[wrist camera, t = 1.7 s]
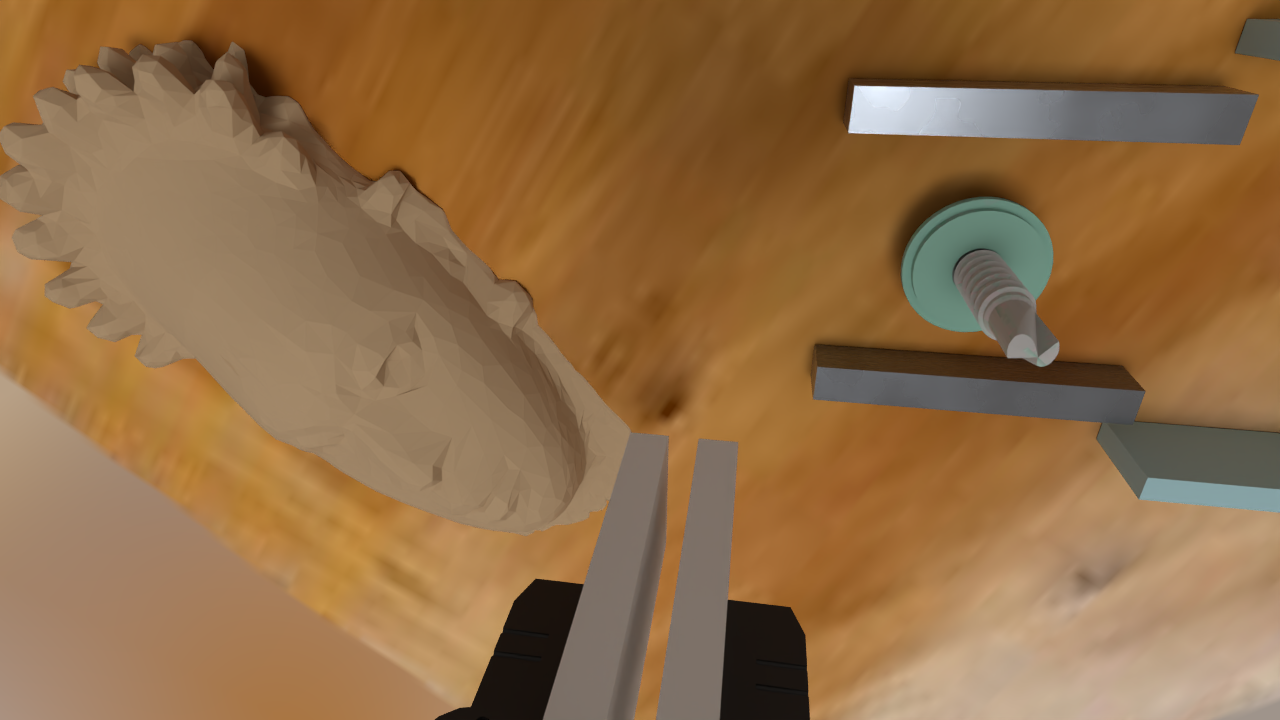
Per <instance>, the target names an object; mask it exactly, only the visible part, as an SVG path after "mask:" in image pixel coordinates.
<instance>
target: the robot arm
mask: <svg viewBox="0 0 1280 720" xmlns="http://www.w3.org/2000/svg"><path fill="white" fill-rule="evenodd" d="M668 440H669V436H663V435H652V434H641V433H630V435H629V438H628V442H627V445H626V448H625V452H624V455H623V458H622V461H621V465H620V468H619V471H618V474H617V478H616V481H615V484H614V488H613V491H612V494H611V497H610V501H609V504H608V507H607V511H606V514H605V517H604V520H603V524H602V527H601V530H600V534H599V537H598V540H597V543H596V547H595V550H594V553H593V557H592V560H591V563H590V566H589V570H588V573H587V576H586V580H585V583H584V584H576V583H568V582H560V581H551V580H543V579H535V580H534V581H533V582H532V583H531V584H530V585H529V586H528V587H527V588H526V589H525V590H524V591H523V592H522V593H521V594H520V596H519V597H518V598H517V599H516V600H515V601H514V603H513V605H512V608H511V610H510V613H509V615H508V618H507V620H506V622H505V625H504V627H503V633H501V635H500V637H499V640H498V642H497V644H496V647H495V649H494V655H493V656H492V657H491V659H490V662H489V664H488V667H487V669H486V671H485V674H484V676H483V679H482V681H481V684H480V686H479V689H478V691H477V693H476V696H475V698H474V701H473V703H472V706H471V707H466V708H458V709H456V710H453V711H451V712H448V713H446V714H444V715H441V716H439V717H438V718H436V719H435V720H634V716H635V710H636V705H637V699H638V694H639V688H640V683H641V677H642V672H643V666H644V661H645V656H646V650H647V645H648V639H649V634H650V628H651V623H652V617H653V612H654V606H655V601H656V595H657V590H658V584H659V579H660V573H661V568H662V562H663V557H664V551H665V546H666V524H667V482H668ZM737 453H738V442H730V441H719V440H708V439H699V441H698V448H697V454H696V461H695V467H694V474H693V481H692V487H691V494H690V500H689V507H688V513H687V520H686V526H685V533H684V540H683V546H682V553H681V559H680V566H679V572H678V579H677V585H676V592H675V598H674V605H673V612H672V618H671V625H670V631H669V638H668V644H667V651H666V657H665V664H664V671H663V677H662V684H661V690H660V697H659V703H658V710H657V716H656V720H810V713H809V697H808V676H807V657H806V639H805V634H804V632H803V630H802V628H801V626H800V624H799V622H798V620H797V619H796V617H795V615H794V613H793V611H792V609H791V607H784V606H776V605H767V604H759V603H751V602H742V601H734V600H728V587H729V572H730V557H731V542H732V527H733V513H734V498H735V483H736V468H737Z"/></svg>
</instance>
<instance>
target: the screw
mask: <svg viewBox="0 0 1280 720" xmlns="http://www.w3.org/2000/svg"><path fill="white" fill-rule="evenodd" d="M1052 265H1053V247H1052V242H1051V239H1050V236H1049V233H1048V231H1047V230H1046V228H1045V226H1044V225H1043V223H1042V222H1041V221H1040V220H1039V219H1038V218H1037V217H1036V216H1035V215H1034V214H1033V213H1032V212H1030V211H1029V210H1028V209H1027V208H1025V207H1024V206H1022V205H1020V204H1018V203H1016V202H1013V201H1010V200H1007V199H1003V198H997V197H975V198H969V199H965V200H961V201H957V202H955V203H953V204H950V205H948V206H946V207H944V208H942V209H941V210H939V211H937V212H936V213H934V214H933V215H932V216H930V217H929V218H928V219H926V220H925V221H924V222H923V223H922V224H921V225H920V227H919V228H918V229H917V230H916V231H915V233H914V234H913V235H912V237H911V239H910V241H909V242H908V244H907V246H906V249H905V251H904V254H903V258H902V263H901V281H902V286H903V289H904V292H905V295H906V297H907V299H908V301H909V302H910V304H911V306H912V307H913V308H914V310H915V311H916V312H917V313H918V314H919V315H920V316H921V317H923V318H924V319H925V320H927V321H928V322H930V323H932V324H933V325H936V326H938V327H940V328H943V329H947V330H951V331H958V332H976V331H983V332H984V333H985V334H986V335H987V336H989V337H990V338H992V339H994V340H997V341H998V343H999V344H1000V346H1001V348H1002V349H1003V351H1004V353H1005V354H1006V356H1007V358H1023V359H1025V360H1027V361H1029V362H1031V363H1032V364H1035V365H1037V366H1039V367H1044V366H1047V365H1049V364H1050V363H1051V362H1052V361H1053V360H1054V359H1055V358H1056V356H1057V354H1058V352H1059V341H1058V340H1057V339H1056V337H1055V336H1054V335H1053V334H1052V333H1051V331H1050V330H1049V329H1048V328H1047V326H1046V325H1045V324H1044V323H1043V321H1042V320H1041V319H1040V318H1039V317H1038V315H1037V314H1036V299H1037V298H1038V297H1039V295H1040V294H1041V293H1042V291H1043V289H1044V288H1045V286H1046V284H1047V282H1048V279H1049V277H1050V274H1051V270H1052Z"/></svg>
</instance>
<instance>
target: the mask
mask: <svg viewBox="0 0 1280 720" xmlns="http://www.w3.org/2000/svg"><path fill="white" fill-rule="evenodd" d="M97 63H98V65H99V67H100V69H99V68H96V67H92V66H86V65H79V66H78V67H77V69H76V70H66V73H65V76H64V79H63V83H64V84H65V86H66V87H67V89H68V90H69V92H67V91H64V90H60V89H57V88H54V87H51V88H47V89H43V90H40V91H38V92H37V93H36V94H35V95H34V96H33V97H34V100H35V102H36V105H37V108H38V110H39V113H40V116H41V118H42V120H43V124H42V125H36V124H25V123H11V124H9V125H6V126H4V127H3V129H2V130H1V132H0V142H1V145H2V147H3V149H4V151H5V153H6V154H7V155H8V156H10V157H11V158H12V159H14V160H15V161H16V162H18V163H19V164H20V165H17V166H16V167H14V168H12V169H11V170H9V171H7V172H6V173H4V174H2V175H1V176H0V199H1V200H3V201H5V202H6V203H8V204H9V205H11V206H12V207H14V208H15V209H17V210H18V211H20V212H26V213H32V214H38V215H42V216H41V217H39V218H38V219H36V220H34V221H32V222H30V223H28V224H26V225H24V226H22V227H20V228H18V229H16V230H15V232H14V234H13V236H12V239H13V242H14V244H15V247H16V249H17V252H19V253H20V254H22V255H24V256H26V257H27V258H29V259H36V260H51V261H65V262H72V263H71V266H70V269H69V270H67V271H65V272H64V273H62V274H61V275H59V276H57V277H56V278H54V279H53V280H51V281H49V282H48V283H46V284H45V296H46V297H47V298H48V299H50V300H51V301H52V302H54V303H57V304H59V305H62V306H65V307H67V308H75V307H78V306H81V305H85V304H88V303H91V302H94V301H97V302H99V303H101V304H103V305H102V307H101V308H100V309H99V311H98V312H97V313H96V314H95V316H94V317H93V318H92V320H91V321H90V323H89V324H88V326H87V329H88V330H89V331H91V332H92V333H93V334H94V335H95V336H97V337H98V338H101V339H105V340H109V341H113V342H116V341H119V340H121V339H123V338H125V337H128V336H130V335H142V336H141V339H140V342H139V345H138V348H137V351H136V354H135V357H136V358H137V359H138V360H139V361H140V362H141V363H143V364H144V365H145V366H146V367H151V368H159V367H164V366H166V365H169V364H171V363H174V362H176V361H178V360H181V359H188V358H196V359H197V360H198V361H199V362H200V363H201V365H202V366H203V367H204V368H205V369H206V370H207V371H208V372H209V373H210V374H211V375H212V376H213V378H214V379H215V380H216V381H217V382H218V383H219V384H220V385H221V386H222V388H223V389H224V390H225V391H226V392H227V393H228V394H229V395H230V396H231V397H232V398H233V399H234V400H235V401H236V402H237V403H238V404H239V405H240V406H241V407H242V408H243V409H244V410H245V411H246V412H247V413H248V414H249V415H250V416H251V417H252V418H253V419H254V420H255V421H256V423H257V424H258V425H259V426H261V427H262V428H263V429H264V430H265V431H267V432H268V433H269V434H270V435H271V436H273V437H274V438H275V439H277V440H279V441H282V442H285V443H287V444H290V445H293V446H295V447H296V448H298V449H300V450H303V451H306V452H310V453H314V454H316V455H318V456H319V457H321V458H323V459H324V460H326V461H327V462H329V463H330V464H332V465H333V466H334V467H336V468H337V469H339V470H340V471H342V472H343V473H345V474H347V475H349V476H350V477H352V478H354V479H355V480H357V481H359V482H361V483H363V484H364V485H366V486H368V487H370V488H371V489H373V490H375V491H377V492H379V493H381V494H384V495H386V496H389V497H391V498H393V499H396V500H398V501H400V502H403V503H405V504H408V505H410V506H413V507H416V508H418V509H421V510H423V511H426V512H429V513H432V514H435V515H438V516H440V517H443V518H446V519H449V520H452V521H454V522H457V523H460V524H464V525H469V526H473V527H477V528H482V529H487V530H493V531H502V532H509V533H516V534H520V535H524V536H527V535H529V534H531V533H534V531H535V530H541V531H544V530H546V529H548V528H550V527H551V526H554V525H569V524H572V523H576V522H579V521H583V520H585V519H587V518H589V513H590V512H592V511H599V510H600V509H601V511H602V510H603V508H604V507H605V506H606V505H607V503H606V500H608V501H610V497H611V494H612V491H613V488H614V484H615V481H616V478H617V474H618V471H619V468H620V465H621V461H622V458H623V455H624V452H625V448H626V445H627V442H628V438H629V435H630V433H632V432H631V430H630V428H629V427H628V426H627V425H626V424H625V423H624V422H623V421H622V420H621V419H620V418H619V417H618V416H617V415H616V414H615V413H614V412H613V411H612V410H611V409H610V408H609V407H608V406H607V405H606V404H605V403H604V402H603V400H602V399H601V398H600V397H599V396H598V395H597V393H596V391H595V390H594V389H593V388H592V387H591V385H590V384H589V383H588V382H587V381H586V380H585V378H584V377H583V376H582V375H581V374H579V373H578V372H577V371H575V369H574V368H573V366H572V364H571V363H570V362H569V361H567V360H566V358H565V357H564V356H563V354H561V353H560V351H559V349H558V348H557V346H556V345H555V344H554V342H553V341H552V340H551V339H550V337H549V336H548V335H547V334H546V333H545V332H544V331H543V330H542V329H541V328H540V327H539V326H538V322H537V315H536V313H535V310H534V308H533V302H532V298H531V296H530V295H529V294H528V293H527V292H526V291H525V290H524V289H523V288H522V287H521V286H520V285H519V284H518V283H517V282H516V281H511V280H499V279H498V278H497V277H496V276H495V275H494V274H493V272H492V271H491V269H490V268H489V267H488V266H487V265H486V264H485V263H484V262H483V261H482V260H481V259H480V258H479V257H477V256H476V255H475V254H474V253H473V252H472V251H471V250H469V249H468V248H467V247H466V246H465V244H464V243H463V242H462V241H461V240H460V239H459V238H458V237H457V235H456V234H455V233H454V232H453V231H452V229H451V227H450V224H449V222H448V219H447V217H446V215H445V212H444V211H443V210H442V209H441V208H440V207H439V206H437V205H436V204H435V203H433V202H432V201H431V200H429V199H428V198H427V197H425V196H424V195H422V194H421V193H419V192H417V191H416V190H415V189H414V187H413V186H412V185H411V184H410V183H409V181H408V180H407V179H406V178H405V176H404V175H403V174H402V172H401V171H388V172H387V173H386V174H385V175H384V176H383V177H382V178H381V179H379V180H378V181H377V182H376V181H370V180H368V179H367V178H366V177H364V176H363V175H361V174H360V173H359V172H357V171H356V170H354V169H353V168H352V167H351V166H350V165H348V164H347V163H346V162H345V161H344V160H343V159H341V158H340V157H339V156H338V155H337V154H336V153H335V152H334V151H333V150H332V148H331V147H330V146H329V145H328V144H327V143H326V142H325V140H324V139H323V138H322V137H321V136H320V135H319V134H318V133H317V132H316V131H315V130H314V128H313V127H312V125H311V123H310V122H309V120H308V118H307V116H306V115H305V113H304V111H303V109H302V108H301V106H300V105H299V103H298V102H297V101H295V100H293V99H292V98H290V97H288V96H270V97H263V96H261V95H258V94H257V93H256V91H255V90H254V89H253V87H252V86H251V85H250V83H249V75H248V65H247V61H246V56H245V52H244V50H243V49H242V48H241V47H239V46H238V45H236V44H235V43H234V42H232V43H231V45H230V48H229V50H228V52H226V53H225V54H224V55H223V56H222V57H221V58H220V59H218V60H217V61H216V64H215V67H214V70H213V68H212V67H211V66H210V64H209V63H208V62H207V60H206V59H205V57H204V54H203V52H202V51H201V50H200V48H199V47H198V46H197V45H196V44H195V43H194V42H193V41H189V40H183V41H181V42H179V43H178V42H173V43H165V44H156V45H155V47H154V51H153V53H152V52H151V51H150V50H149V49H147V48H146V47H145V46H143V45H141V44H139V45H138V46H136V47H135V48H134V49H133V50H132V51H130V54H129V55H128V54H127V53H126V52H125V51H124V50H123V49H118V48H111V47H100V52H99V57H98V62H97Z"/></svg>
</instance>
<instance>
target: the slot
mask: <svg viewBox="0 0 1280 720" xmlns="http://www.w3.org/2000/svg"><path fill="white" fill-rule="evenodd" d="M1258 96H1259V95H1258V94H1254V93H1250V92H1246V91H1242V90H1238V89H1234V88H1230V87H1225V86H1201V85H1152V84H1103V83H1055V82H1006V81H957V80H908V79H859V78H849V81H848V89H847V97H846V105H845V113H844V120H843V123H844V125H845V127H846V129H847V131H848V133H866V134H899V135H931V136H964V137H997V138H1030V139H1062V140H1095V141H1128V142H1160V143H1193V144H1226V145H1240V143H1241V140H1242V138H1243V135H1244V133H1245V130H1246V127H1247V125H1248V122H1249V119H1250V117H1251V114H1252V112H1253V109H1254V106H1255V104H1256V101H1257V99H1258ZM811 384H812V393H813V399H815V400H827V401H840V402H852V403H865V404H877V405H890V406H902V407H915V408H927V409H939V410H952V411H964V412H977V413H989V414H1002V415H1014V416H1027V417H1039V418H1051V419H1064V420H1076V421H1089V422H1101V423H1114V424H1126V425H1133V423H1134V420H1135V418H1136V415H1137V412H1138V410H1139V407H1140V404H1141V402H1142V399H1143V397H1144V394H1145V390H1144V389H1143V388H1142V387H1141V386H1140V385H1139V383H1138V382H1137V381H1136V380H1135V379H1134V378H1133V377H1132V376H1131V375H1130V374H1129V372H1128V371H1127V370H1126V369H1125V368H1124V367H1123V366H1115V365H1101V364H1086V363H1072V362H1058V361H1052V362H1051V363H1050V364H1049V365H1047V366H1044V367H1039V366H1037V365H1035V364H1032V363H1031V362H1029V361H1027V360H1025V359H1015V358H1001V357H987V356H972V355H958V354H944V353H930V352H915V351H901V350H887V349H873V348H858V347H844V346H830V345H815V346H814V354H813V361H812V369H811Z"/></svg>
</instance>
